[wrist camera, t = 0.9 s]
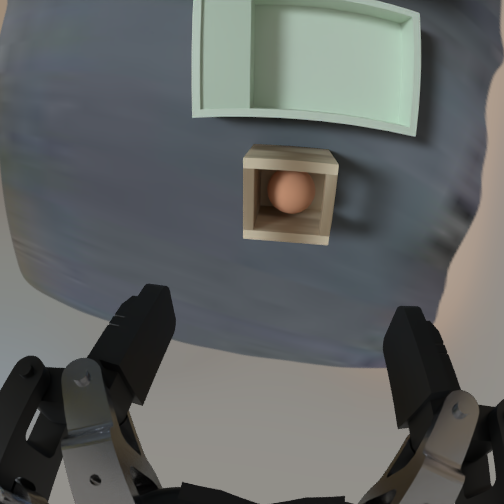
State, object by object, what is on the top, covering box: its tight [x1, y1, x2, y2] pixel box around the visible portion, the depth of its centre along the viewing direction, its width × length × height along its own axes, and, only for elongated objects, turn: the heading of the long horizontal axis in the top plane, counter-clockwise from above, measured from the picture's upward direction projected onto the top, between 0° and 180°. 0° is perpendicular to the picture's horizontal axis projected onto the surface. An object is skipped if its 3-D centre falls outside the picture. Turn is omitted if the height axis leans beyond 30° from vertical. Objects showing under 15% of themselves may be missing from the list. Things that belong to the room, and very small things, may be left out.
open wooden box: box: [243, 144, 339, 245], centre depth 21 cm, size 6×6×5 cm
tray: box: [192, 0, 421, 137], centre depth 16 cm, size 10×16×3 cm, turn 89°
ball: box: [267, 170, 315, 214], centre depth 21 cm, size 4×4×4 cm
